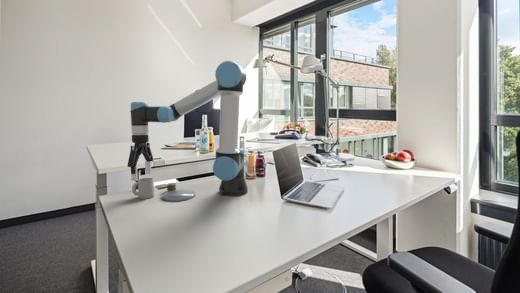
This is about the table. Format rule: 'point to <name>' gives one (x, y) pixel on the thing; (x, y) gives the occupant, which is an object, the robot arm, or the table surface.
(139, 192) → the cup
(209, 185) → the table surface
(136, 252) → the table surface
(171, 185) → the walnut block
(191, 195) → the dish
